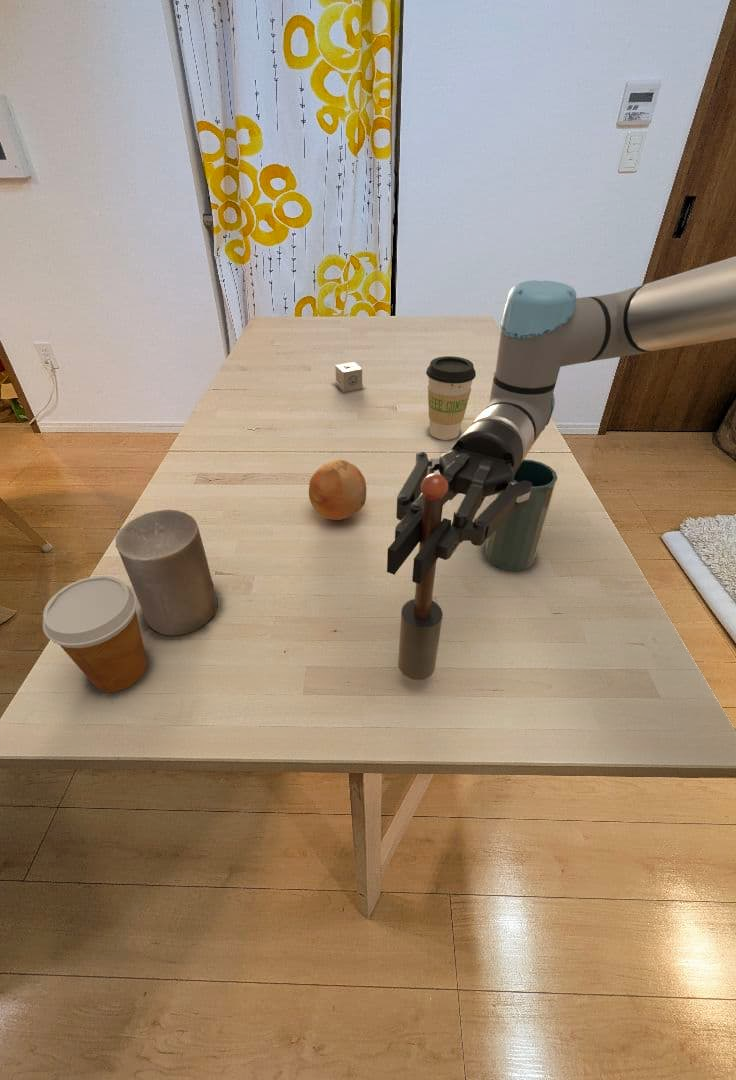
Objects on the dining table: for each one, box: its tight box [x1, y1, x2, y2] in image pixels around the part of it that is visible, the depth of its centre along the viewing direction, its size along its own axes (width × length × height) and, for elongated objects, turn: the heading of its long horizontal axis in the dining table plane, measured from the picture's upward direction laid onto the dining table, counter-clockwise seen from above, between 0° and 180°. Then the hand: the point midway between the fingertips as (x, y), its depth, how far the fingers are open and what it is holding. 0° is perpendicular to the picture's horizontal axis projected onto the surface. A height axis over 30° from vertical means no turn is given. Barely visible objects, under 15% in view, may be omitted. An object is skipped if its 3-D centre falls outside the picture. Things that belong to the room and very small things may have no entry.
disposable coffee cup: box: [42, 575, 148, 693], centre depth 60 cm, size 10×10×12 cm
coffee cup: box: [425, 355, 477, 441], centre depth 107 cm, size 10×10×15 cm
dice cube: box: [334, 361, 363, 393], centre depth 128 cm, size 5×5×5 cm
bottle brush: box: [397, 473, 449, 681], centre depth 53 cm, size 4×4×26 cm
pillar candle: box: [114, 509, 219, 637], centre depth 67 cm, size 10×10×15 cm
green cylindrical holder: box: [485, 458, 558, 572], centre depth 76 cm, size 7×7×15 cm
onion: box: [308, 459, 367, 521], centre depth 86 cm, size 10×10×10 cm
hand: (404, 566), depth 45 cm, fingers closed on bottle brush, 2 cm apart
